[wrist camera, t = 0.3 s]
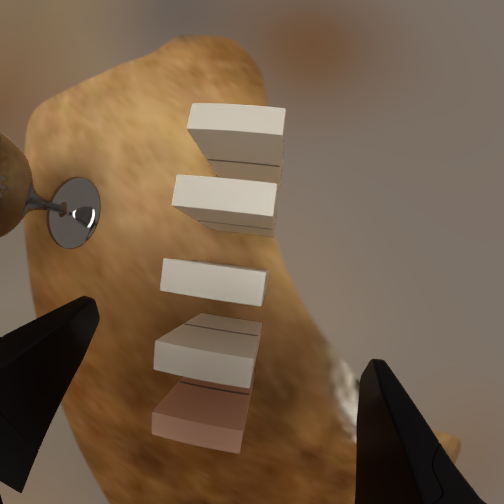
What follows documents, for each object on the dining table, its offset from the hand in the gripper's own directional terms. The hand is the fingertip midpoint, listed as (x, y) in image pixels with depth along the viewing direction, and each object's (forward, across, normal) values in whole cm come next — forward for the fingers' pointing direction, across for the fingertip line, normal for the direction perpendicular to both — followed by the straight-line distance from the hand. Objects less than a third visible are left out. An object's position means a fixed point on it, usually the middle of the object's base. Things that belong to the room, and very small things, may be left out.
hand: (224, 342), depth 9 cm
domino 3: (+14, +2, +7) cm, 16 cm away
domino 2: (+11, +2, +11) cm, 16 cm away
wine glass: (+15, +19, +5) cm, 25 cm away
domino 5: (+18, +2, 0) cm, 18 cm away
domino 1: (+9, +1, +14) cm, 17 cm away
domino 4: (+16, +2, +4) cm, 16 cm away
